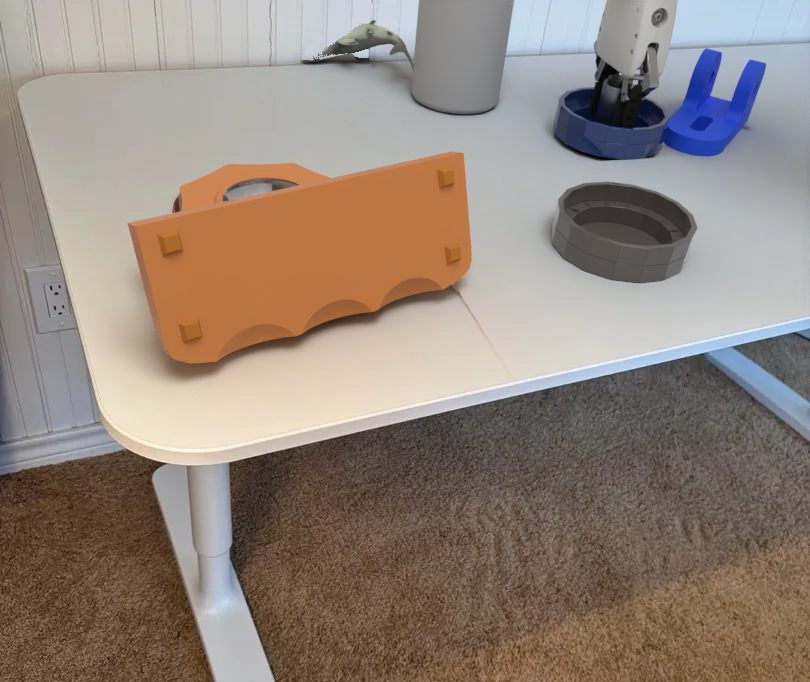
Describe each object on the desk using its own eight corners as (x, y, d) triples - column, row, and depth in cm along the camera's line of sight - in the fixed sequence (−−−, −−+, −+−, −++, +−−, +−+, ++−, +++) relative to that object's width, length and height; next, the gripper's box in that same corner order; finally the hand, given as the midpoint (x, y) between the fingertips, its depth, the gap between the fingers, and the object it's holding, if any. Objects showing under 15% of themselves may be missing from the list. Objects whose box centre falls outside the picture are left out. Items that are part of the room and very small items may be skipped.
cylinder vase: (393, 92, 118) (407, -112, 102) (457, 77, 125) (480, -117, 108) (451, 123, 111) (476, -91, 95) (516, 106, 118) (550, -97, 101)
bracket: (692, 105, 124) (711, 43, 118) (747, 121, 121) (770, 57, 115) (653, 143, 112) (673, 75, 106) (713, 161, 109) (737, 92, 103)
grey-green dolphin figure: (296, 75, 118) (312, 117, 125) (409, 49, 116) (420, 93, 122) (297, 15, 126) (312, 57, 132) (404, -11, 123) (414, 34, 130)
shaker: (612, 129, 113) (626, 72, 108) (626, 141, 110) (642, 83, 105) (586, 130, 112) (599, 73, 107) (600, 143, 109) (614, 84, 104)
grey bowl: (641, 214, 96) (651, 178, 93) (709, 280, 86) (723, 241, 83) (529, 223, 92) (536, 186, 89) (587, 293, 82) (597, 253, 79)
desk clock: (466, 146, 73) (351, 137, 89) (135, 219, 59) (68, 193, 75) (477, 280, 78) (366, 250, 94) (175, 376, 64) (104, 322, 80)
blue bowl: (626, 117, 118) (635, 85, 115) (679, 160, 108) (689, 127, 105) (536, 121, 114) (542, 88, 111) (582, 166, 104) (590, 131, 101)
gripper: (715, -9, 93) (668, 147, 104) (640, -48, 105) (605, 95, 116) (657, -9, 91) (616, 150, 102) (587, -49, 103) (557, 97, 114)
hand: (610, 119), depth 109 cm, fingers open, 5 cm apart
